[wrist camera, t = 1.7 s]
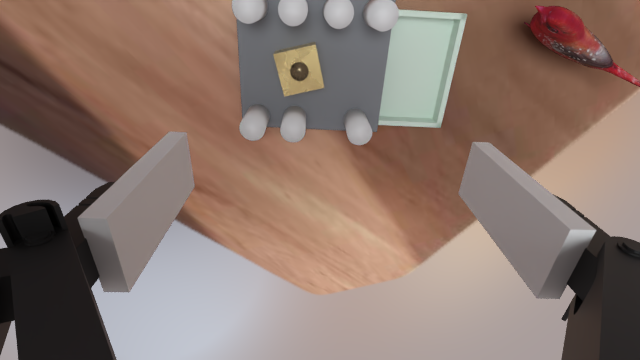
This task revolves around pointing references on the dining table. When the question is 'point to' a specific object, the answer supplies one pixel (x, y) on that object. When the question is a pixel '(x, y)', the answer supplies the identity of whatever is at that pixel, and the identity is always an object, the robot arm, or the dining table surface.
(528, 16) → the dining table surface
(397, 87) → the tray
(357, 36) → the board
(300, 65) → the gold block with knob
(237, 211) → the dining table surface
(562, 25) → the decorative bird figurine
